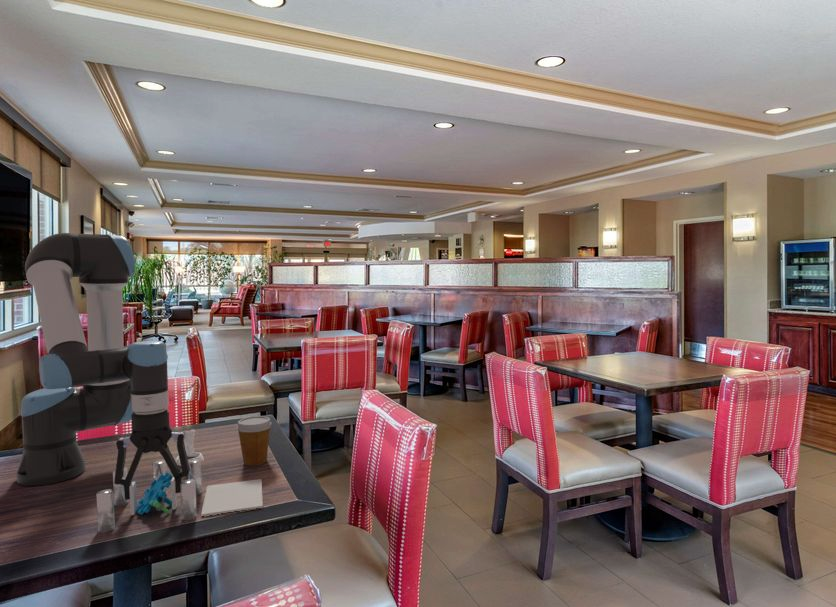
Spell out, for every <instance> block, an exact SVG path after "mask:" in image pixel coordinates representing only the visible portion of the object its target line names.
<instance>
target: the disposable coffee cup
mask: <svg viewBox="0 0 836 607" xmlns="http://www.w3.org/2000/svg"><path fill="white" fill-rule="evenodd" d="M271 426H272V421H271V418H270V417H268V416H263V415H262V416H259V415H258V416H257V415H256V416H249V417H244V418H241V419H240V420H238V421H237V425H236V429H237V431H238V437H239V443H240V449H241V455H242V461H243V465H245V466H247V467H248V466H249V467H252V466H253V467H254V466H255V465H256V466H261V465H263V464H265V463H267V460H268V450H269V442H270V440H269V439H270V431H271Z"/></svg>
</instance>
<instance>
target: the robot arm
mask: <svg viewBox="0 0 836 607" xmlns="http://www.w3.org/2000/svg"><path fill="white" fill-rule="evenodd" d="M134 255H135V254H134V251H133V248H132V245H131V243H130V242H129V239H127V238H126V237H124V236H122V235H117V234H108V233H106V234H101V233H99V234H98V233H97V234H95V233H93V234H92V233H69V232H60V233H54V234H52V235H49V236H47V237H45V238H44V239H42V240H40V241H39V242H37V243H36V244H35V245H34V247H32V248H31V250H30V251H29V253H28V255H27V257H26V260H25V263H24V271H25V277H26V280H27V282H28V283H29V284H30V285H31V286H32V287H33V290H34V291H33V292H34V294H35V299H36V304H37V309H38V313H39V319H40V323H41V327H42V328H41V329H42V332H43V333H42V334H43V338H44V342H45V347H46V352H47V354H45V355H42V356H40V358H39V362H38V372H39V381H40V384H41V387H42V388H40V389H37V390H35V391H34V390H33V391H32V392H29V393H27V394H26V395H25V396H24V397H23V398H22V399H21V405H20V406H21V408H20V410H21V411H20V416H21V427H22V446H23V447H22V448H23V450H22V451H23V452H22V455H21V457H20V461H19V464H18V467H17V470H16V474H15V475H16V476H15V477H16V483H17V484H18V485H20V486H24V487H26V486H27V487H28V486H29V487H32V486H33V487H34V486H45V485H52V484H56V483H60V482H63V481H64V482H65V481H67V480H70V479H73V478H75V477H77V476H79V475H81V474H82V473H83V472H85V471H86V469H87V468H86V458H85V456H84V454H83V452H82V451H81V450H82V449H81V448H80V446H79V444H78V441H77V433H79V432H83V431H89V430H94V429H101V428H106V427H111V426H113V427H115V426H118V425H121V424H124V423H128V422H131V434H130V436H127V437H123V436H121V437H119V438H118V440H116V443H115V444H116V447H117V460H116V464H115V469H116V472H115V479H114V483H115V484H116V485H118V484H121V485H123V486H124V493H125V499H126V500H129V506H130V507H129V508H130V511H129V512H130V516H135V514H136V512H137V511H136V508H137V506H138V500H137V481H133V479H134V476H135V474H136V471H137V469H138V468H139V467H138V466H139V465H140V464H139V463H140V461H141V459H142V456H143V454H147V453H150V452H154V453H157V452H159V454H160V455H161V457H162V458H163V460H164V461H165V462H166V466H167V468H168V469H169V472H170V473H171V475H172V476H173V477H172V479H171V480H170V482H171V485H170V487H171V490H170V491H171V501H172V505H171V510H176V509H177V507H178V494H179V493H180V494H181V487H180V483H181V482H182V481H183V480H182V478H184V477H188V474H189V471H190V467H189V463H188V459H189V457H188V458H187V454H186V449H185V445H184V443H185V438H186V432H185V431H184V430H181V431H180V432H179V431H178V432H176V431H172V429H171V424H170V410H169V409H168V407H169V406H170V402H169V401H170V400H169V398H170V397H169V382H168V379H169V377H168V359H169V358H168V357H169V356H168V352H167V346H166V343H165V342H163V341H162V340H147V341H146V340H143V341H136V342H132V343H130V344H129V345H126V346H124V341H125V340H124V315H123V314H124V311H123V310H124V309H123V308H124V307H123V289H124V288H126V286H127V285H128V284H129V278H132V277H133V276H135V274H136V258H135V256H134ZM72 278H78V281H79V282H78V283H79V285H80V286H81V287H82V288H84V289H85V294H86V295H85V296H86V321H87V341H86V337H85V333H84V329H83V325H82V321H81V317H80V314H79V310H78V309H79V308H78V306H77V302H76V298H75V295H74V291H73V287H72V284H71V280H72ZM81 386H82V388H75V387H81ZM170 439H173V442H174V443H176V449H177V453H178V456H179V458H180V463H181V466H178V465H177V463H176V461H175V460H176V459H175V458H174V456H173V453H171V450H170V448H169V446H168V442H169V441H170ZM130 442H131V443H132V444H133V445H134V446H135V447H136V452H135V453H134V457H133V459H132V462H131V465H130V467H129V470H128V474H127V476H126V477H123V474H124V467H125V465H126V456H127V451H128V450H127V449H128V447H129V446H130ZM179 467H181V469H180V468H179Z"/></svg>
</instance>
